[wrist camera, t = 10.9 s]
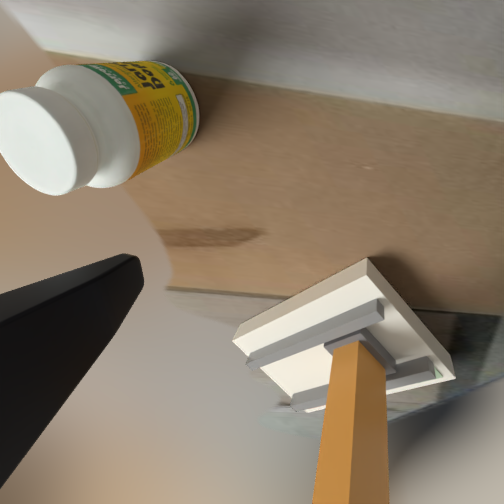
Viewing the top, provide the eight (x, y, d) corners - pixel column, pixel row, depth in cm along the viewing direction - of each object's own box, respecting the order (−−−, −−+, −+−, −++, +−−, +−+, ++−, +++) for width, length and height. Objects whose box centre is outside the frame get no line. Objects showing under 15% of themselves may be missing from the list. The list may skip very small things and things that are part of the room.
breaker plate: (367, 257, 21) (365, 286, 18) (450, 355, 22) (459, 394, 20) (240, 324, 28) (226, 351, 25) (310, 393, 30) (304, 425, 27)
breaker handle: (361, 322, 21) (348, 551, 11) (395, 360, 22) (411, 604, 12) (325, 336, 23) (288, 545, 13) (358, 371, 23) (346, 592, 14)
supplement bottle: (131, 143, 22) (0, 194, 14) (122, 53, 19) (-52, 56, 11) (201, 160, 21) (100, 225, 13) (204, 68, 18) (73, 82, 10)
